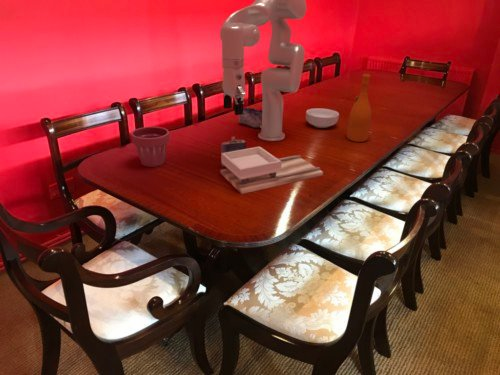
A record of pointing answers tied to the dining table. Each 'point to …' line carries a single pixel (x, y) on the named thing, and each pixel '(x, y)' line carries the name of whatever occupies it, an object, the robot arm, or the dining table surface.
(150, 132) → the plant pot
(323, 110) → the cereal bowl
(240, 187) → the rail board
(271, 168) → the pink rimmed tray
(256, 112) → the geode
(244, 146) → the flask
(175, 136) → the dining table surface
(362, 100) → the wine bottle
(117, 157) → the dining table surface
